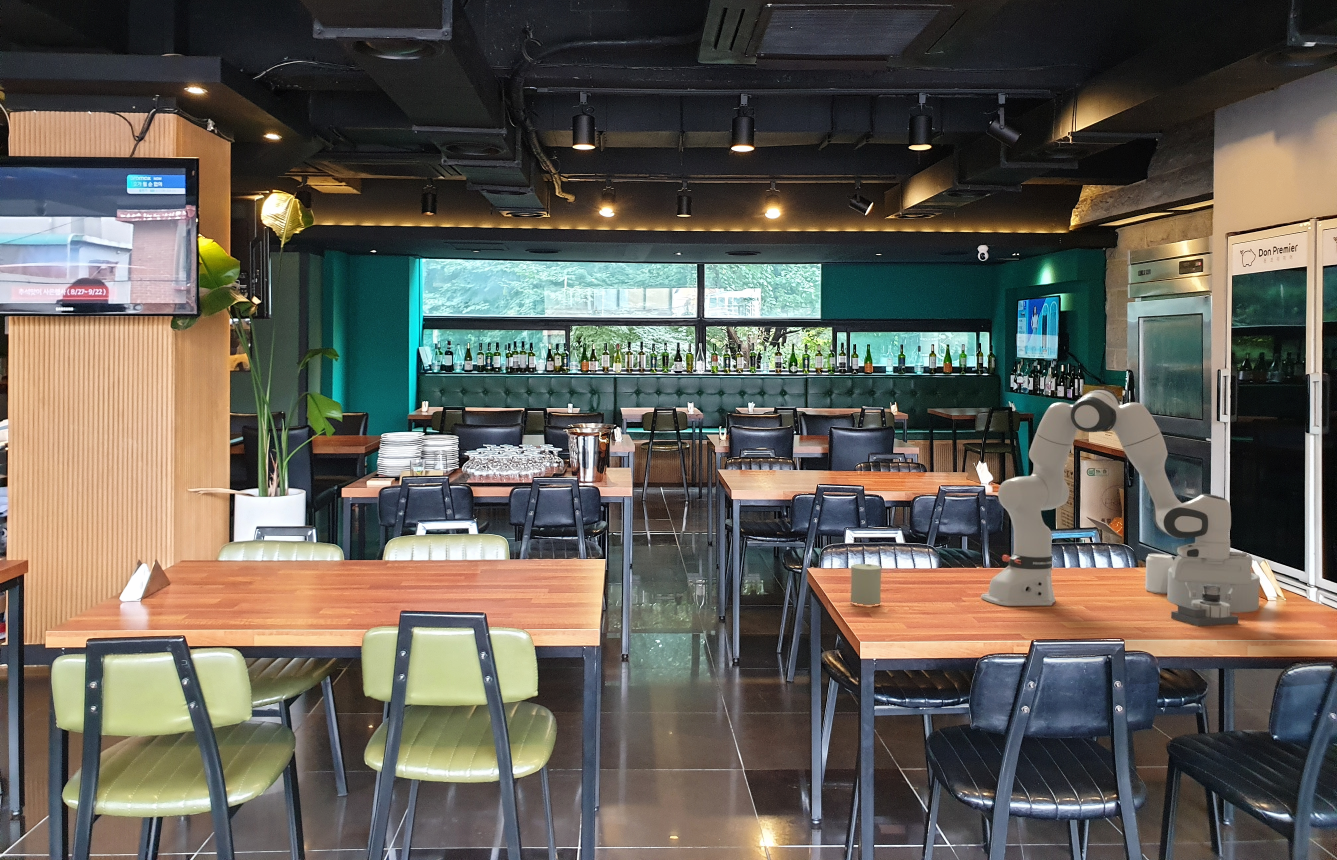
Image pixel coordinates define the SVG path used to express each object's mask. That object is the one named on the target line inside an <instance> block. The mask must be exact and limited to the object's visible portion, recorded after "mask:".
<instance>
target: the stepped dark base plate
mask: <svg viewBox="0 0 1337 860" xmlns="http://www.w3.org/2000/svg"><path fill="white" fill-rule="evenodd" d="M1170 617H1171V619H1173V620H1175V621H1180V622H1182V623H1186V624H1189V625H1192V626H1196V627H1210V626H1221V625H1222V626H1223V625H1224V626H1225V625H1232V624H1233V625H1234V624H1235V625H1236V624H1239V616H1238V615H1235V614H1232V613H1230V605H1229V604H1228V603H1224V602H1220V605H1206V604H1202V600H1193V601H1191V605H1177V610H1173V611H1172V610H1171V613H1170Z"/></svg>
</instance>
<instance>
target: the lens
mask: <svg viewBox="0 0 1337 860" xmlns="http://www.w3.org/2000/svg"><path fill="white" fill-rule="evenodd" d="M1220 596H1221V594H1220V587H1219V586H1216V585H1203V592H1202V604H1206V605H1220Z"/></svg>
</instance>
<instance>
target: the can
mask: <svg viewBox="0 0 1337 860" xmlns="http://www.w3.org/2000/svg"><path fill="white" fill-rule="evenodd" d="M850 569H851V571H850V573H851V574H850V575H851V577H850V602H853V603H857V604H863V605H875V604H880V603H881V599H882V598H881V596H882V595H881V594H882V593H881V590H882V589H881V586H882V585H881V584H882V583H881V579H882V566H880V565H877V564H871V563H856V564H852V565H851V566H850ZM881 604H882V603H881Z"/></svg>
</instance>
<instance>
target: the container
mask: <svg viewBox="0 0 1337 860" xmlns="http://www.w3.org/2000/svg"><path fill="white" fill-rule="evenodd" d="M1172 569H1173V567H1171V568H1169V569H1168V592H1167V594H1166V596H1167V597H1166V599H1167V601H1168V602H1169V603H1171V604H1173V605H1176V606H1178V605H1191V601H1193V600H1202V592H1203V585H1216V586H1219V587H1220V594H1221V596H1220V602H1224V603H1228V604H1229V605H1230V614H1233V613H1235V614H1237V613H1238V614H1239V613H1242V614H1243V613H1244V614H1245V613H1251V612H1256V611H1258V610H1259V609H1260V608H1259V607H1260V588H1261V587H1260V581H1261V579H1260V575H1258V574H1256V573H1254V572H1251V575H1252V582H1251V583H1250V584H1249V585H1237V590H1236V591H1235V592H1234V594H1233V599H1232V600H1226V599H1225V596H1226V595H1225V593H1228V592H1229V591H1230V589H1231V587H1230V584H1215V583H1196V582H1193V583H1192V586H1190V587H1191V588H1192V590H1193V591H1195V592H1196V598H1190V597H1189V590H1188V588H1187V587H1186V585H1185V582H1178V581H1176V580H1174V579H1173V577H1172Z"/></svg>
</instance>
